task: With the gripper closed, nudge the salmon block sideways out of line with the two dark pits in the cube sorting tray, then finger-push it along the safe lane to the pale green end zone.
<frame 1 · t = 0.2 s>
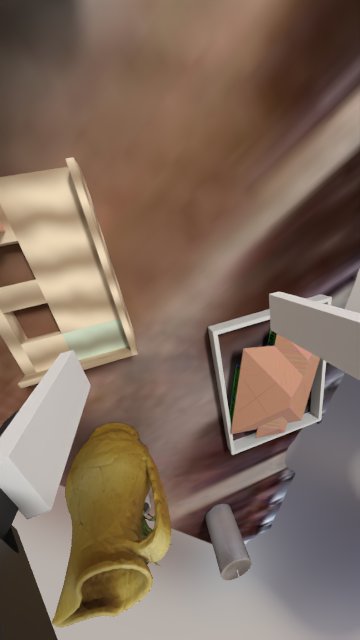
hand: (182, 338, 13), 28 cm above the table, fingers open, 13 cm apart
cube sorting tray: (51, 282, 35), on the table
house: (268, 378, 54), on the table, touching serving tray rim
serving tray rim: (269, 377, 54), on the table
pitcher: (118, 441, 50), on the table
pillar candle: (217, 511, 70), on the table
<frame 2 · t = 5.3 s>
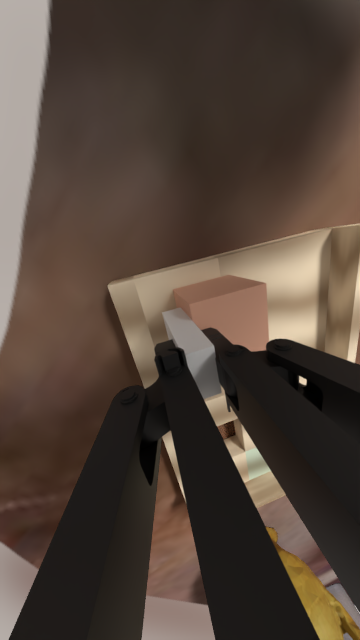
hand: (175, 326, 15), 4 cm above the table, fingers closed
cube sorting tray: (235, 380, 24), on the table
salmon block: (206, 309, 17), point 3 cm above the table, touching gripper
pitcher: (253, 544, 39), on the table
pillar candle: (326, 591, 59), on the table
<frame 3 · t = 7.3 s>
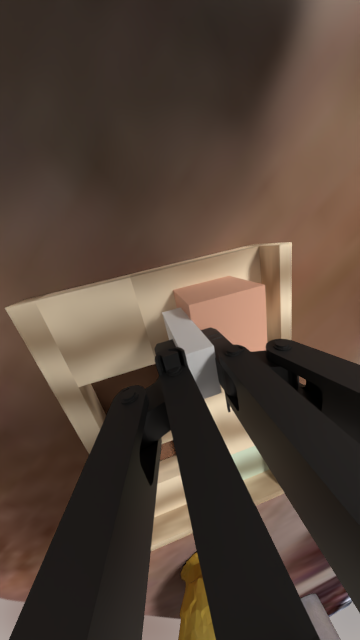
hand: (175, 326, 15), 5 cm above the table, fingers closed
cube sorting tray: (177, 398, 23), on the table
salmon block: (205, 310, 17), point 2 cm above the table, touching gripper
pitcher: (216, 558, 38), on the table
pillar candle: (302, 601, 58), on the table
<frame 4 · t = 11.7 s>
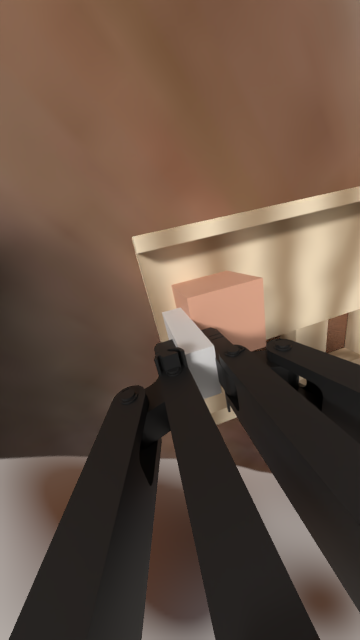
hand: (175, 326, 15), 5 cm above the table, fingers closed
cube sorting tray: (287, 311, 23), on the table
salmon block: (204, 305, 17), point 2 cm above the table, touching gripper
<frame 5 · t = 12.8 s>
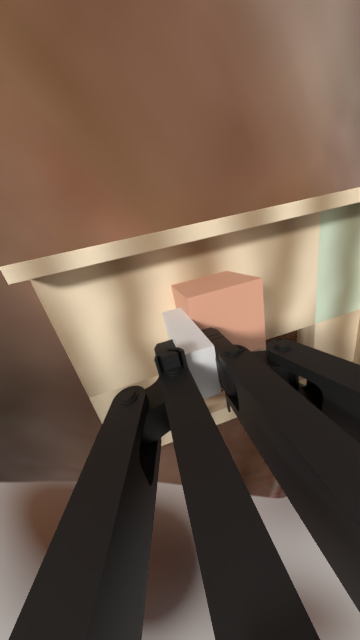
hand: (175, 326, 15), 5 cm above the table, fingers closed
cube sorting tray: (227, 330, 22), on the table
salmon block: (204, 305, 17), point 2 cm above the table, touching gripper
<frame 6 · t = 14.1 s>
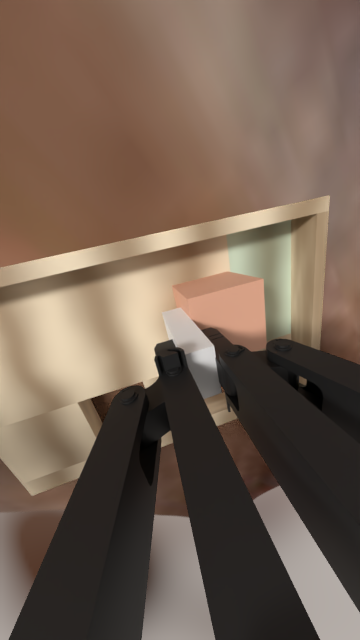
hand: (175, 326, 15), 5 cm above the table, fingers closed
cube sorting tray: (148, 356, 20), on the table
salmon block: (204, 306, 17), point 3 cm above the table
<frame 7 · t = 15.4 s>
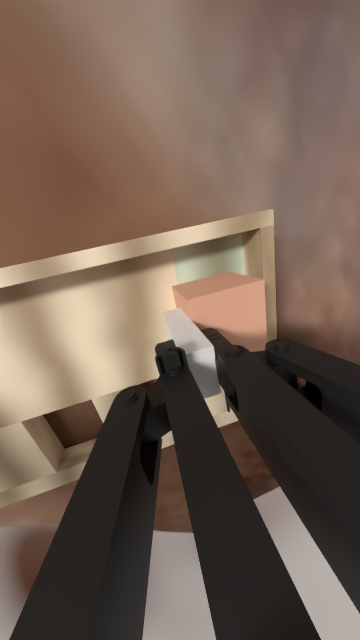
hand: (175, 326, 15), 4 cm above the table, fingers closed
cube sorting tray: (102, 371, 20), on the table
salmon block: (204, 306, 17), point 2 cm above the table, touching gripper, cube sorting tray
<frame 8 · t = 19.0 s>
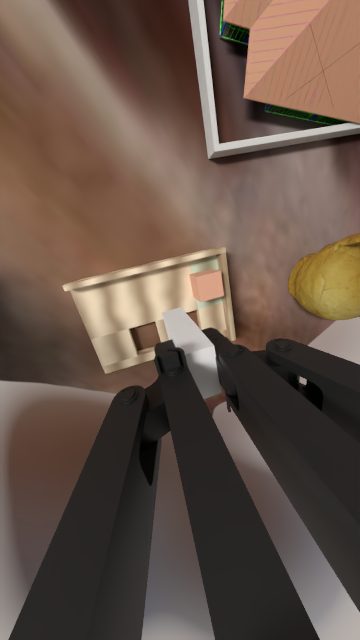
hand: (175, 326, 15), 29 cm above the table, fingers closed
cube sorting tray: (157, 312, 45), on the table
salmon block: (202, 282, 42), point 2 cm above the table, touching cube sorting tray
house: (302, 41, 35), on the table, touching serving tray rim
serving tray rim: (300, 38, 35), on the table
pitcher: (310, 274, 51), on the table
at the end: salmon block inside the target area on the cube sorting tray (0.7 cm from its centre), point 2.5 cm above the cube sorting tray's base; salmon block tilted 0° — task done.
